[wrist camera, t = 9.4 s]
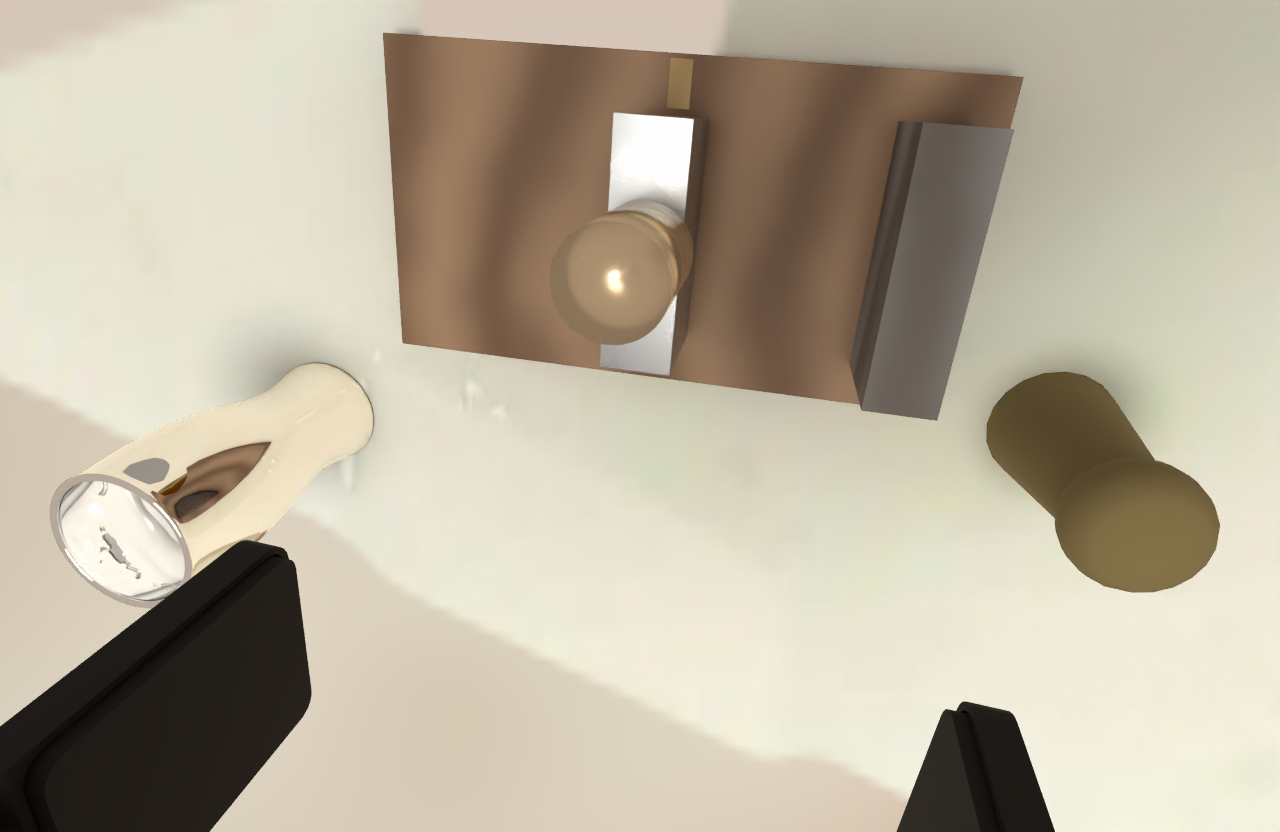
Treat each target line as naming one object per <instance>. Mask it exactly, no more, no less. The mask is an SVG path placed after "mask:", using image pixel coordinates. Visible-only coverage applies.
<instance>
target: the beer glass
mask: <svg viewBox="0 0 1280 832" xmlns="http://www.w3.org/2000/svg"><path fill="white" fill-rule="evenodd" d="M372 430H373V412H372V408H371V405H370V402H369V400H368V398H367V396H366V394H365V392H364V391H363V389H362V388H361V387H360V386H359V384H358V383H357V382H356V381H355V380H354V379H353V378H352V377H350V376H349V375H348V374H346V373H345V372H343V371H342V370H340V369H338V368H336V367H333V366H330V365H327V364H321V363H310V364H305V365H301V366H299V367H297V368H295V369H293V370H292V371H291V372H289V373H288V374H287V375H286V376H285V377H284V378H283V379H282V380H281V381H280V382H278V383H277V384H276V385H275V386H274V387H273V388H271V389H270V390H268V391H267V392H265V393H263V394H261V395H259V396H256V397H254V398H250V399H247V400H244V401H240V402H236V403H233V404H229V405H225V406H221V407H218V408H214V409H211V410H207V411H203V412H200V413H197V414H194V415H191V416H188V417H185V418H182V419H179V420H176V421H174V422H171V423H169V424H167V425H165V426H163V427H160V428H158V429H156V430H154V431H152V432H149V433H147V434H145V435H144V436H142V437H140V438H138V439H136V440H134V441H133V442H131V443H129V444H127V445H125V446H124V447H122V448H120V449H118V450H117V451H115V452H113V453H112V454H110V455H109V456H107V457H105V458H104V459H102V460H100V461H99V462H97V463H96V464H94V465H93V466H91V467H89V468H88V469H86V470H85V471H83V472H81V473H80V474H78V475H76V476H74V477H72V478H70V479H68V480H66V481H65V482H63V483H62V484H61V485H60V486H59V487H58V489H57V490H56V492H55V493H54V495H53V498H52V501H51V505H50V522H51V527H52V531H53V534H54V537H55V539H56V542H57V544H58V546H59V548H60V550H61V551H62V553H63V554H64V556H65V558H66V559H67V561H68V562H69V563H70V564H71V566H72V567H73V568H74V569H75V570H76V571H77V572H78V574H80V576H81V577H83V578H84V579H85V580H86V581H87V582H88V583H89V584H91V585H92V586H93V587H95V588H96V589H97V590H99V591H100V592H102V593H103V594H105V595H107V596H109V597H111V598H113V599H115V600H117V601H119V602H122V603H124V604H127V605H131V606H135V607H141V608H153V607H155V606H156V605H157V604H158V603H160V602H161V601H162V600H164V599H165V598H166V597H167V596H169V595H170V594H171V593H173V592H174V591H175V590H176V589H178V588H179V587H180V586H182V585H183V584H184V583H185V582H187V581H188V580H189V579H191V578H192V577H193V576H194V575H196V574H197V573H198V572H200V571H201V570H202V569H203V568H205V567H206V566H207V565H209V564H210V563H211V562H212V561H214V560H215V559H216V558H218V557H219V556H220V555H221V554H223V553H224V552H225V551H227V550H228V549H229V548H230V547H232V546H233V545H234V544H236V543H238V542H240V541H242V540H250V541H255V542H258V541H259V540H260V539H261V538H262V537H263V536H264V535H266V534H267V533H268V532H269V531H270V530H271V529H272V527H273V526H274V525H275V524H276V523H277V522H278V521H279V520H280V519H281V518H282V517H283V516H284V515H285V513H286V512H287V511H288V510H289V508H290V507H291V506H292V505H293V504H294V502H295V501H296V500H297V499H298V497H299V496H300V495H301V494H302V492H303V491H304V490H305V489H306V487H307V486H308V485H309V484H310V482H311V481H312V480H313V479H314V478H315V477H316V475H317V474H319V473H320V472H321V471H322V470H324V468H326V467H327V466H329V465H330V464H332V463H334V462H337V461H339V460H341V459H344V458H346V457H348V456H350V455H352V454H354V453H356V452H357V451H359V450H360V449H361V448H362V447H363V446H364V445H365V444H366V443H367V441H368V440H369V438H370V436H371V433H372Z"/></svg>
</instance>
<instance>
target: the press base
mask: <svg viewBox="0 0 1280 832" xmlns="http://www.w3.org/2000/svg"><path fill="white" fill-rule="evenodd" d="M383 41H384V57H385V73H386V88H387V104H388V120H389V136H390V152H391V167H392V183H393V199H394V215H395V231H396V246H397V262H398V278H399V294H400V310H401V325H402V341H403V343H406V344H413V345H421V346H428V347H436V348H443V349H450V350H458V351H465V352H473V353H480V354H488V355H495V356H503V357H510V358H518V359H525V360H532V361H540V362H547V363H555V364H562V365H570V366H577V367H585V368H592V369H599V370H607V371H614V372H622V373H629V374H637V375H644V376H652V377H659V378H666V379H674V380H681V381H689V382H696V383H704V384H711V385H719V386H726V387H734V388H741V389H748V390H756V391H763V392H771V393H778V394H786V395H793V396H801V397H808V398H815V399H823V400H830V401H838V402H845V403H853V404H860V407H861V410H862V411H870V412H877V413H885V414H892V415H899V416H907V417H914V418H922V419H929V420H936V421H937V419H938V415H939V412H940V408H941V404H942V400H943V396H944V393H945V389H946V385H947V381H948V377H949V374H950V370H951V366H952V362H953V359H954V355H955V351H956V347H957V343H958V340H959V336H960V332H961V328H962V324H963V321H964V317H965V313H966V309H967V305H968V302H969V298H970V294H971V290H972V287H973V283H974V279H975V275H976V271H977V268H978V264H979V260H980V256H981V252H982V249H983V245H984V241H985V237H986V233H987V230H988V226H989V222H990V218H991V215H992V211H993V207H994V203H995V199H996V196H997V192H998V188H999V184H1000V180H1001V177H1002V173H1003V169H1004V165H1005V161H1006V158H1007V154H1008V150H1009V146H1010V143H1011V139H1012V135H1013V131H1014V129H1010V127H1011V123H1012V119H1013V116H1014V112H1015V108H1016V104H1017V100H1018V96H1019V93H1020V89H1021V85H1022V81H1023V77H1014V76H1000V75H985V74H971V73H956V72H942V71H927V70H913V69H899V68H884V67H870V66H855V65H841V64H826V63H812V62H798V61H783V60H769V59H754V58H740V57H725V56H711V55H697V54H681V53H668V52H653V51H638V50H624V49H610V48H595V47H580V46H567V45H552V44H538V43H523V42H509V41H494V40H480V39H466V38H451V37H437V36H422V35H408V34H394V33H383ZM614 113H647V114H659V115H672V116H684V117H696V118H708V119H709V127H708V137H707V147H706V156H705V166H704V175H703V185H702V195H701V204H700V214H699V224H698V233H697V243H696V252H695V262H694V272H693V281H692V291H691V301H690V310H689V320H688V330H687V337H686V339H685V341H684V343H683V346H682V348H681V350H680V352H679V355H678V357H677V359H676V361H675V364H674V366H673V368H672V371H671V373H670V375H669V376H668V375H660V374H653V373H645V372H638V371H630V370H623V369H615V368H608V367H600V356H601V344H599V343H596V342H593V341H590V340H588V339H586V338H584V337H582V336H581V335H579V334H577V333H576V332H575V331H574V330H572V329H571V328H570V327H569V326H568V325H567V324H566V323H565V321H564V320H563V319H562V317H561V316H560V314H559V313H558V311H557V309H556V307H555V305H554V303H553V299H552V296H551V292H550V284H549V275H550V268H551V263H552V260H553V257H554V255H555V253H556V251H557V249H558V247H559V246H560V244H561V243H562V242H563V241H564V240H565V238H566V237H567V236H568V235H570V234H571V233H572V232H573V231H575V230H577V229H578V228H580V227H582V226H584V225H585V224H587V223H589V222H591V221H593V220H594V219H596V218H598V217H600V216H602V215H604V214H605V213H607V212H608V207H609V189H610V170H611V151H612V133H613V114H614Z"/></svg>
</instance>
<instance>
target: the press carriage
mask: <svg viewBox="0 0 1280 832" xmlns="http://www.w3.org/2000/svg"><path fill="white" fill-rule="evenodd" d="M708 127H709V119H708V118H696V117H684V116H672V115H659V114H647V113H614V114H613V133H612V151H611V170H610V189H609V207H608V212H607V213H605V214H604V215H602V216H600V217H598V218H596V219H594V220H593V221H591V222H589V223H587V224H585V225H584V226H582V227H580V228H578V229H577V230H575V231H573V232H572V233H571V234H570V235H568V236H567V237H566V238H565V240H564V241H563V242H562V243H561V244H560V246H559V247H558V249H557V251H556V253H555V255H554V257H553V260H552V263H551V268H550V275H549V284H550V292H551V296H552V299H553V303H554V305H555V307H556V309H557V311H558V313H559V314H560V316H561V317H562V319H563V320H564V321H565V323H566V324H567V325H568V326H569V327H570V328H571V329H572V330H574V331H575V332H576V333H577V334H579V335H581V336H582V337H584V338H586V339H588V340H590V341H593V342H596V343H599V344H601V356H600V367H608V368H615V369H623V370H630V371H638V372H645V373H653V374H660V375H668V376H669V375H670V373H671V371H672V368H673V366H674V364H675V361H676V359H677V357H678V355H679V352H680V350H681V348H682V346H683V343H684V341H685V339H686V337H687V330H688V320H689V310H690V301H691V291H692V281H693V272H694V262H695V252H696V243H697V233H698V224H699V214H700V204H701V195H702V185H703V175H704V166H705V156H706V147H707V137H708Z"/></svg>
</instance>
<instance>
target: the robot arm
mask: <svg viewBox="0 0 1280 832" xmlns="http://www.w3.org/2000/svg"><path fill="white" fill-rule="evenodd" d="M310 700H311V683H310V676H309V667H308V660H307V652H306V644H305V637H304V628H303V620H302V612H301V604H300V596H299V589H298V580H297V573H296V567H295V564H294V562H293V561H292V560H289V558H288V555H287V552H286V551H285V550H284V549H283V548H281V547H277V546H272V545H268V544H263V543H259V542H255V541H250V540H242V541H240V542H238V543H236V544H234V545H233V546H232V547H230V548H229V549H228V550H227V551H225V552H224V553H223V554H221V555H220V556H219V557H218V558H216V559H215V560H214V561H212V562H211V563H210V564H209V565H207V566H206V567H205V568H203V569H202V570H201V571H200V572H198V573H197V574H196V575H194V576H193V577H192V578H191V579H189V580H188V581H187V582H185V583H184V584H183V585H182V586H180V587H179V588H178V589H176V590H175V591H174V592H173V593H171V594H170V595H169V596H167V597H166V598H165V599H164V600H162V601H161V602H160V603H158V604H157V605H156V606H155V607H153V608H152V609H151V610H149V611H148V612H147V613H146V614H144V615H143V616H142V617H140V618H139V619H138V620H137V621H135V622H134V623H133V624H132V625H130V626H129V627H128V628H126V629H125V630H124V631H122V632H121V633H120V634H119V635H117V636H116V637H115V638H113V639H112V640H111V641H110V642H108V643H107V644H106V645H104V646H103V647H102V648H101V649H99V650H98V651H97V652H95V653H94V654H93V655H92V656H90V657H89V658H88V659H87V660H85V661H84V662H83V663H81V664H80V665H79V666H77V667H76V668H75V669H74V670H72V671H71V672H70V673H68V674H67V675H66V676H65V677H63V678H62V679H61V680H60V681H58V682H57V683H56V684H54V685H53V686H52V687H50V688H49V689H48V690H47V691H45V692H44V693H43V694H41V695H40V696H39V697H38V698H37V699H35V700H34V701H32V702H31V703H30V704H29V705H27V706H26V707H25V708H23V709H22V710H21V711H20V712H18V713H17V714H16V715H14V716H13V717H12V718H11V719H9V720H8V721H7V722H5V723H4V724H3V725H2V726H0V832H210V830H211V829H212V828H213V827H214V825H215V824H216V823H217V822H218V821H219V819H220V818H221V817H222V816H223V814H224V813H225V812H226V811H227V809H228V808H229V807H230V806H231V805H232V803H233V802H234V801H235V800H236V798H237V797H238V796H239V795H240V793H241V792H242V791H243V790H244V789H245V787H246V786H247V785H248V784H249V782H250V781H251V780H252V779H253V777H254V776H255V775H256V774H257V772H258V771H259V770H260V769H261V768H262V766H263V765H264V764H265V763H266V762H267V760H268V759H269V758H270V757H271V755H272V754H273V753H274V751H276V749H277V748H278V747H279V746H280V744H281V743H282V742H283V741H284V739H285V738H286V737H287V736H288V734H289V733H290V732H291V731H292V730H293V728H294V727H295V725H297V723H298V722H299V721H300V720H301V718H302V717H303V716H304V714H305V712H306V710H307V708H308V706H309V703H310ZM897 832H1055V830H1054V827H1053V824H1052V821H1051V819H1050V816H1049V813H1048V810H1047V807H1046V804H1045V801H1044V798H1043V795H1042V793H1041V790H1040V787H1039V784H1038V781H1037V778H1036V775H1035V772H1034V770H1033V767H1032V764H1031V761H1030V758H1029V755H1028V752H1027V749H1026V746H1025V744H1024V741H1023V738H1022V735H1021V732H1020V729H1019V726H1018V723H1017V721H1016V719H1015V717H1014V715H1013V714H1012V713H1011V712H1010V711H1006V710H1001V709H997V708H992V707H988V706H983V705H979V704H975V703H970V702H962V703H961V704H960V705H959V707H958V708H957V710H956V711H953V710H949V709H946V710H944V711H943V713H942V715H941V717H940V720H939V723H938V725H937V728H936V730H935V733H934V736H933V738H932V741H931V743H930V746H929V749H928V751H927V754H926V756H925V759H924V762H923V764H922V767H921V769H920V772H919V775H918V777H917V780H916V782H915V785H914V788H913V790H912V793H911V796H910V798H909V801H908V803H907V806H906V809H905V811H904V814H903V816H902V819H901V822H900V824H899V827H898V829H897Z"/></svg>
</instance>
